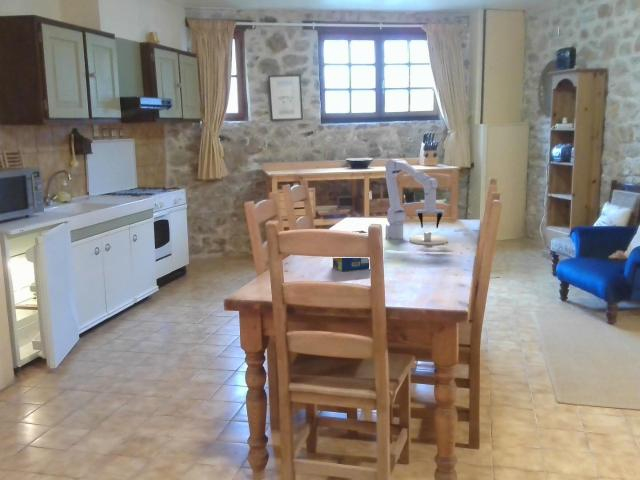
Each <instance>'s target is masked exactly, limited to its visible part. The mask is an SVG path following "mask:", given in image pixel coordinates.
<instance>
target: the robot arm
mask: <svg viewBox="0 0 640 480" xmlns="http://www.w3.org/2000/svg"><path fill="white" fill-rule="evenodd" d="M384 167H385V183H386V189H387V193H388V200H389V201H388V202H389V208H388V209H387V216H386V219H387V222H388V223H387V224H386V225H385V238H386V239H387V240H402V239H404V224H405V222H406V220H407V213H406V211H405V209H404V206H403V207H402V205H401V201H400V194H399V189H398V182H397V176H398V174H400V173H401V172H402V171H404V172H406V173H407V174H409V175H410V176H413V180H414V181H416V182H417V183H418V184H420V185H422V188H423V193H424V201H423V202H424V205H423V206H424V208H423V209H415V214H416V215H417V216H418V219H419V221H420V225H421V226H420V227H421V229H423V227H424V224H423V221H424V219H423V218H424V214H425V215H436V225H435V227H436V229H439V224H440V221H441V220H442V217H443V215H445V209H437V208H436V207H437V188H438V187H439V180H438V179H437V178H436V177H431V175H428V174H427V173H426V172H425V171H424V170H417V169H415V168H414V167H413V166H412V165H410V164H409V163H408V161H407V160H405V159H404V158H397V159H394V158H393V159H388V160H387V161H386V163H385V164H384Z"/></svg>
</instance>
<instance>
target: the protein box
mask: <svg viewBox="0 0 640 480" xmlns="http://www.w3.org/2000/svg"><path fill="white" fill-rule="evenodd" d="M353 232H359V233H368V232H367V231H365V230H355V231H353ZM332 267H333V268H335V269H336V270H338V271H340V272H349V271H350V272H353V271H361V270H369V269H368V268H369V259H368V258H333V257H332Z"/></svg>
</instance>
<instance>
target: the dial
mask: <svg viewBox="0 0 640 480" xmlns="http://www.w3.org/2000/svg"><path fill="white" fill-rule="evenodd" d="M408 239H409V240H408V242H409V243H411V244H414V245H423V246H424V245H425V246H438V245H445V244H448V240H449V239H448V237H445V236H441V235H436V234H435V235H434V234H433V235H432V232H430V231H424V232H423V234H419V235H413V236H410V237H409V238H408Z"/></svg>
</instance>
